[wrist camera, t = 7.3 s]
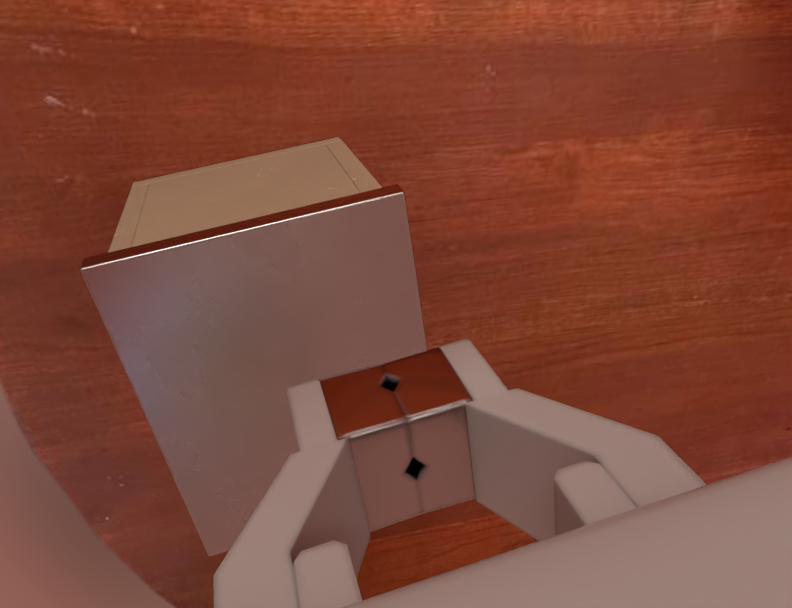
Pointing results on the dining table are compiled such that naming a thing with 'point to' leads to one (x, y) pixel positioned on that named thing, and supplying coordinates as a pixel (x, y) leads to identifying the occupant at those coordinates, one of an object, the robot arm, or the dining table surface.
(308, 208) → the tin lid
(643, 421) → the dining table surface
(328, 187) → the tin box
